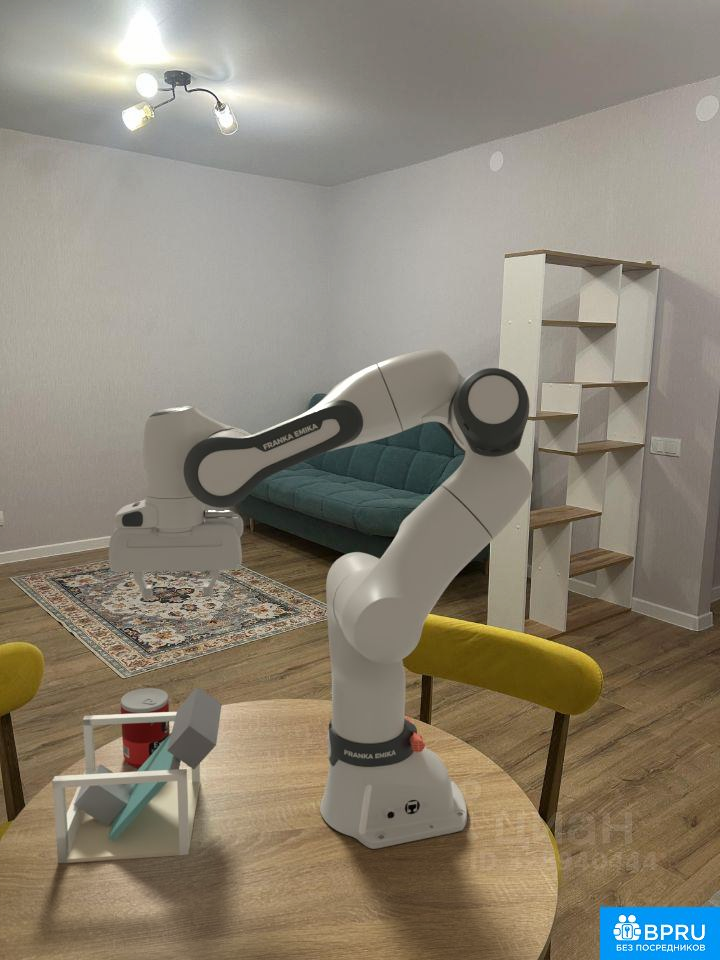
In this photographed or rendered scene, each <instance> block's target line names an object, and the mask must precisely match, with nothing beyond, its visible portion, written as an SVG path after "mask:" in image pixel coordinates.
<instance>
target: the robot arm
mask: <svg viewBox="0 0 720 960" xmlns="http://www.w3.org/2000/svg"><path fill="white" fill-rule="evenodd" d="M529 415H530V397H529V394H528V390H527V389H526V386H525V385H524V383H523V381H521V380H520V378H519V377H518V376H516V375H515V374H514V373H512V372H511V371H508V370H506V369H502V368H497V367H488V368H483V369H478V370H477V371H475V372H473V373H471V374H470V375H468V376H467V377H466V378H465V377H464V376H462V374H461V373H460V370H459V369H458V367H457V364H456V363H455V362H454V360H453V359H452V358H451V357H450V355H448V353H446V352H445V351H443V350H440V349H438V348H427V349H422V350H417V351H412V352H408V353H404V354H400V355H397V356H393V357H391V358H388V359H385V360H382V361H379V362H377V363H375V364H372V365H370V366H367V367H365V368H362V369H361V370H359V371H357V372H355V373H353V374H352V375H350V376H348V377H347V378H345V379H343V380H342V381H340V382H339V383H337V384H335V386H333V388H332V389H331V390H330V391H329V392H328V393H327V394H326V395H325V396H324V397H323V398H322V399H321V400H320V401H319V402H317V404H315V405H314V406H313V407H311V408H310V409H308V410H306V411H304V412H303V413H301V414H299V415H296V416H294V417H292V418H289V419H287V420H285V421H283V422H280V423H278V424H275V425H273V426H271V427H268V428H265V429H263V430H260V431H258V432H256V433H252V432H250V431H248V430H245V429H242V428H238V427H235V426H232V425H229V424H225V423H222V422H221V421H217V420H215V419H214V418H211V417H209V416H208V415H206V414H204V412H201V411H200V410H199V409H198V408H197V407H195V406H192V405H181V406H174V407H169V408H166V409H160V410H157V411H156V412H154V413H153V414H151V415H150V416H149V417H148V418H147V419H146V422H145V425H144V430H143V431H144V432H143V447H142V451H143V469H144V470H145V474H146V475H145V476H146V486H145V490H144V499H142V500H140V501H139V500H138V501H135V502H132V503H129V504H126V505H124V506H123V507H121V508H120V509H119V510H118V511H117V512H116V513H115V515H114V525H115V527H116V528H115V529H114V530H113V532H112V533H111V535H110V538H109V546H108V567H109V568H110V570H111V571H113V572H114V573H132V574H133V580H134V581H135V583H136V584H137V585H138V587H139V588H140V589H141V598H142V599H152V598H153V595H154V591H153V589H154V584H148V583H147V581H146V580H145V577H144V575H145V573H147V572H186V571H187V572H189V571H192V572H193V571H194V572H195V571H209V576H210V577H211V579H210V580H209V582H204V583H203V585H202V591H203V594H202V595H203V596H202V597H205V598H206V597H209V598H210V597H211V598H213V596H214V585H216V583H217V581H218V579H219V578H220V574H221V571H225V570H226V571H227V570H229V571H231V570H233V571H235V570H237V569H239V567H240V566H241V565H242V561H243V553H242V551H243V550H242V544H241V537H242V536H243V533H244V519H243V518H242V517H241V516H240V514H238V513H236V512H234V511H233V510H224V511H223V510H222V511H220V510H205V505H206V506H208V507H209V506H210V507H214V508H229V507H233V506H235V505H238V504H239V503H241V502H242V501H244V500H245V499H246V498H247V497H248V496H250V494H251V493H252V492H253V491H254V490H255V489H256V488H257V486H259V485H260V484H261V483H262V482H263V481H265V480H266V479H267V478H269V477H271V476H275V474H278V473H281V472H282V471H285V470H288V469H290V468H292V467H294V466H297V465H299V464H301V463H303V462H304V463H305V462H306V461H308V460H311V459H313V458H316V457H318V456H321V455H324V454H325V453H328V452H333V451H336V450H339V449H344V448H347V447H351V446H356V445H362V444H365V443H370V442H374V441H378V440H381V439H385V438H387V437H391V436H395V435H397V434H400V433H402V432H404V431H407V430H409V429H412V428H415V427H417V426H419V425H423V424H425V423H431V422H437V423H438V426H439V427H440V428H441V429H442V431H443V432H444V433H445V434H446V435H447V436H448V438H449V439H450V440H451V442H452V443H453V444H454V446H455V447H456V448H457V449H459V451H461V452H462V453H463V454H464V457H463V458H464V459H463V460H462V462H461V464H460V465H459V466H458V468H457V469H456V470H455V471H454V472H453V473H452V474H451V475H450V476H449V477H448V478H447V479H446V480H444V482H442V483H441V484H440V485H439V486H438V487H437V488H436V489H435V490H434V491H432V493H430V495H428V496H427V497H426V498H425V500H423V501H422V502H421V503H420V504H419V505H418V506H416V508H415V509H413V510H412V511H411V513H410V514H408V515H407V516H406V517H405V518H404V519H403V520H402V522H401V523H400V525H399V528H398V531H397V533H396V535H395V537H394V538H393V540H392V542H391V543H390V544H389V546H388V547H387V548H386V550H385V551H384V553H383V554H382V556H381V557H380V558H379V557H376V556H374V555H372V554H369V553H365V552H360V551H356V552H355V551H354V552H349V553H346V554H344V555H342V556H340V557H339V558H337V559H336V560H335V561H334V562H333V563H332V565H331V566H330V568H329V570H328V572H327V576H326V583H325V586H326V587H325V591H326V592H325V593H326V595H325V597H326V615H327V616H326V617H327V620H326V621H327V633H328V644H329V646H328V647H329V657H330V670H331V718H330V721H329V724H328V731H327V757H328V760H329V767H328V773H327V778H326V779H327V780H326V784H325V788H324V793H323V795H322V797H321V798H322V799H321V802H320V805H319V806H320V807H319V810H320V813H321V817H322V818H323V820H324V821H325V823H327V825H329V826H330V828H332V829H334V830H335V831H337V832H339V833H341V834H343V835H346V836H350V837H352V838H354V839H356V840H357V841H359V842H360V843H361V844H362V845H363V846H365V847H367V848H369V849H373V850H375V849H377V850H378V849H381V848H385V847H390V846H394V845H400V844H405V843H409V842H414V841H420V840H425V839H428V838H433V837H439V836H443V835H449V834H452V833H453V834H454V833H457V832H461V831H463V830H464V829H465V827H466V825H467V821H468V811H467V804H466V801H465V798H464V795H463V793H462V791H461V790H460V788H459V787H458V785H457V784H456V783H455V782H454V781H453V779H452V778H451V777H450V774H449V772H448V769H447V767H446V765H445V764H444V762H443V760H442V759H441V758H440V756H438V754H437V753H436V752H434V751H433V750H430V749H429V748H428V747H426V744H425V741H424V738H423V737H422V735H421V734H419V733H418V728H417V727H416V725H415V724H414V723H413V721H412V719H411V718H410V716H409V715H407V716H406V717H405V714H406V712H405V711H406V710H405V709H406V708H405V707H406V672H405V668H404V663H403V662H404V661H403V659H405V658H406V657H408V656H409V655H410V654H411V653H412V652H413V651H414V650H415V649H416V647H417V646H418V644H419V642H420V639H421V637H422V633H423V627H424V624H425V622H426V621H427V618H428V616H429V614H430V613H431V612H432V610H433V608H434V607H435V606H436V604H437V603H438V602H439V599H440V598H441V596H442V595H443V593H444V592H445V591H446V589H447V588H448V586H449V585H450V583H452V581H453V580H454V579H455V577H456V576H457V575H458V574H459V573H460V572H461V571H462V570H463V569H464V568H465V567H466V566H467V565H468V564H469V563H470V562H472V560H473V559H474V558H475V557H477V555H479V553H481V552H482V551H483V549H484V548H485V547H487V546H488V545H489V544H490V543H491V542H492V541H493V540H495V538H496V537H497V536H498V535H499V534H500V533H501V532H502V531H503V530H504V529H505V528H506V527H507V526H508V524H509V523H510V522H511V521H512V520H513V519H514V517H515V516H516V515H517V514H518V512H519V511H520V510H521V509H522V507H523V506H524V504H525V503H526V502H527V501H528V499H529V498H530V496H531V494H532V491H533V479H532V478H533V477H532V475H531V473H530V471H529V469H528V467H527V465H526V463H524V462H523V461H522V460H521V459H520V457H519V456H518V454H517V452H516V450H518V449H519V447H520V446H521V442H522V439H523V436H524V432H525V429H526V426H527V423H528V419H529ZM406 718H407V719H406Z"/></svg>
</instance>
